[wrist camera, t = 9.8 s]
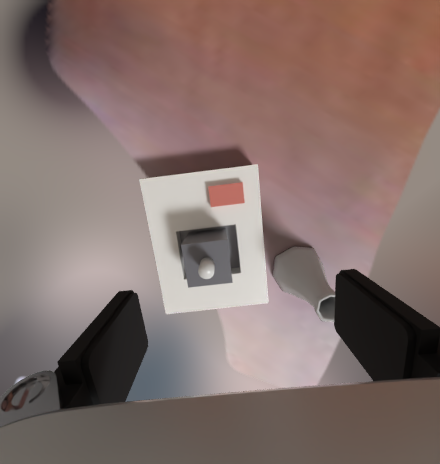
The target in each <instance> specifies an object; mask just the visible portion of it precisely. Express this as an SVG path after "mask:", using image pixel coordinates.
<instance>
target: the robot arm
mask: <svg viewBox="0 0 440 464" xmlns="http://www.w3.org/2000/svg"><path fill="white" fill-rule="evenodd" d="M334 326H335V329H336V332H337V333H338V334H339V336H340V337H341V338H342V340H343V341H344V342H345V344H346V345H347V346H348V348H349V349H350V350H351V352H352V353H353V354H354V356H355V357H356V358H357V359H358V361H359V362H360V364H361V365H362V366H363V368H364V369H365V370H366V372H367V373H368V374H369V376H370V377H371V378H372V379H373V381H369V382H356V383H343V384H331V385H317V386H304V387H291V388H279V389H267V390H255V391H243V392H231V393H219V394H208V395H196V396H186V397H175V398H164V399H152V400H141V401H131V402H125V401H126V398H127V396H128V393H129V391H130V389H131V386H132V384H133V382H134V379H135V377H136V374H137V372H138V370H139V367H140V365H141V362H142V360H143V358H144V355H145V353H146V350H147V347H148V339H147V334H146V331H145V326H144V321H143V317H142V313H141V308H140V304H139V299H138V295H137V293H134V292H133V291H132V290H129V291H119V292H118V293H117V294H116V295H115V296H114V298H113V299H112V300H111V301H110V302H109V303H108V304H107V306H106V307H105V308H104V309H103V310H102V311H101V313H100V314H99V315H98V316H97V317H96V318H95V320H94V321H93V322H92V323H91V324H90V325H89V326H88V328H87V329H86V330H85V331H84V332H83V333H82V334H81V335H80V337H79V338H78V339H77V340H76V341H75V342H74V344H73V345H72V346H71V347H70V348H69V349H68V350H67V352H66V353H65V354H64V355H63V356H62V357H61V358H60V360H59V361H58V365H59V367H58V368H57V369H56V370H55V372H52V371H41V372H37V373H35V374H32V375H30V376H28V377H26V378H24V379H22V380H21V381H19V382H17V383H16V384H15V385H13V386H12V387H11V388H9V389H8V390H7V391H6V392H5V393H4V394H3V395H2V396H1V397H0V464H440V327H439V326H437V325H436V324H434V323H433V322H431V321H430V320H428V319H427V318H426V317H424V316H423V315H421V314H420V313H418V312H417V311H415V310H414V309H412V308H411V307H410V306H408V305H407V304H405V303H404V302H402V301H401V300H399V299H398V298H396V297H395V296H394V295H392V294H390V293H389V292H388V291H386V290H385V289H383V288H382V287H380V286H379V285H377V284H376V283H375V282H373V281H372V280H370V279H369V278H367V277H366V276H364V275H363V274H361V273H360V272H359V271H357V270H355V269H350V270H341V271H340V273H339V274H337V275H336V288H335V315H334Z"/></svg>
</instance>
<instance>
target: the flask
mask: <svg viewBox="0 0 440 464" xmlns="http://www.w3.org/2000/svg"><path fill="white" fill-rule="evenodd" d="M273 277H274V278H275V280H276V282H277V283H278V285H279V287H280V288H281V290H282V291H284V292H286V293H289V294H291V295H294V296H296V297H298V298H301V299H303V300H305V301H307V302H308V303H309V304H311V305H312V306H313V307H314V309H315V311H316V313H317V315H318V317H319V318H320V320H321V321H327V322H334V315H335V292H334V291H333V290H332V289H331V288H330V286H329V285H328V282H327V279H326V276H325V272H324V268H323V264H322V263H321V261H320V259H319V257H318V255H317V253H316V252H315V250H314V248H306V247H295V246H293V247H292V248H290V249H288V250H286V251H285V252H283V253H281V254H279V255H278V256H276V257H275V263H274V270H273Z"/></svg>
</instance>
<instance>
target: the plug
mask: <svg viewBox="0 0 440 464" xmlns="http://www.w3.org/2000/svg"><path fill="white" fill-rule="evenodd" d="M181 248H182V254H183V260H184V266H185V272H186V278H187V284H188V288H190V287H199V286H208V285H217V284H226V283H233V282H232V273H231V264H230V256H229V247H228V239H227V232H226V228H222V229H213V230H205V231H196V232H189V233H188V235H187V236H186V238H185V239H184V241H183V243H182V244H181Z"/></svg>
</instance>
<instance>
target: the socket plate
mask: <svg viewBox="0 0 440 464" xmlns="http://www.w3.org/2000/svg"><path fill="white" fill-rule="evenodd" d="M139 182H140V187H141V191H142V197H143V201H144V207H145V212H146V217H147V221H148V226H149V232H150V237H151V241H152V247H153V251H154V256H155V262H156V267H157V272H158V277H159V282H160V287H161V292H162V297H163V302H164V306H165V312H166V314H173V313H182V312H191V311H200V310H208V309H219V308H228V307H237V306H246V305H255V304H264V303H268V290H267V277H266V264H265V251H264V239H263V226H262V213H261V200H260V187H259V175H258V164H256V165H248V166H241V167H233V168H225V169H217V170H209V171H201V172H193V173H185V174H177V175H169V176H161V177H153V178H145V179H139ZM222 228H226V232H227V239H228V247H229V256H230V264H231V273H232V282H233V283H226V284H217V285H208V286H199V287H190V288H188V284H187V278H186V272H185V266H184V260H183V254H182V248H181V244H182V243H183V241H184V239H185V238H186V236H187V235H188V233H189V232H196V231H205V230H213V229H222Z"/></svg>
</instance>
